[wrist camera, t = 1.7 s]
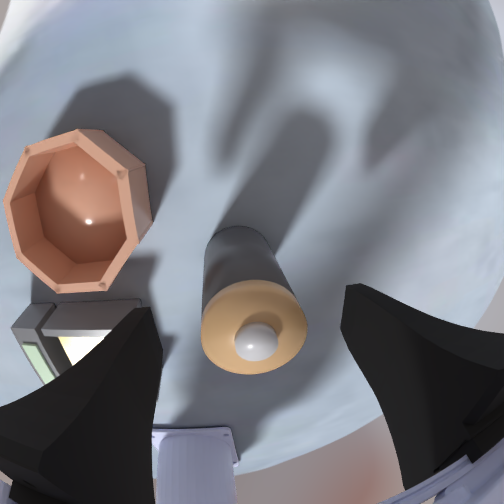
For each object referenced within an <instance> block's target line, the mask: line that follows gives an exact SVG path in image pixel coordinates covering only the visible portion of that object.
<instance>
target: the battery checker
mask: <svg viewBox="0 0 504 504" xmlns="http://www.w3.org/2000/svg"><path fill="white" fill-rule="evenodd" d="M140 307H142V305H141V301H140V299H128V300H111V301H92V302H69V303H60V304H59V305H58V307H57V308H56V307H55V304H54V303H36V304H30V305H29V306H28V307H27V308H26V309H25V311H24V312H23V313H22V314H21V315H20V317H19V318H18V319H17V320H16V322H15V323H14V324H13V325H12V327H11V329H12V331H13V333H14V335H15V337H16V339H17V341H18V343H19V345H20V347H21V349H22V350H23V352H24V354H25V356H26V357H27V359H28V361H29V362H30V364H31V366H32V367H33V369H34V371H35V372H36V374H37V375H38V377H39V378H40V380H41V381H42V383H43V384H44V385H46V384H47V383H49V382H50V381H52V380H53V379H55V378H56V377H58V376H60V375H61V374H62V373H64V372H65V371H66V370H68V369H69V368H70V367H72V366H73V365H72V363H71V361H70V359H69V357H68V355H67V353H66V352H65V350H64V348H63V346H62V344H61V342H60V340H59V338H58V337H105V336H106V335H107V334H108V333H109V332H110V331H111V330H112V329H113V328H114V327H115V326H116V325H117V324H118V323H119V322H120V321H121V320H122V319H123V318H124V317H125V316H126V315H127V314H128V313H129V312H130V311H131V310H133V309H134V308H140ZM161 376H162V373H161ZM160 383H161V379H160ZM159 390H160V384H159ZM159 390H158V396H157V401H156V402H158V397H159Z"/></svg>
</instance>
